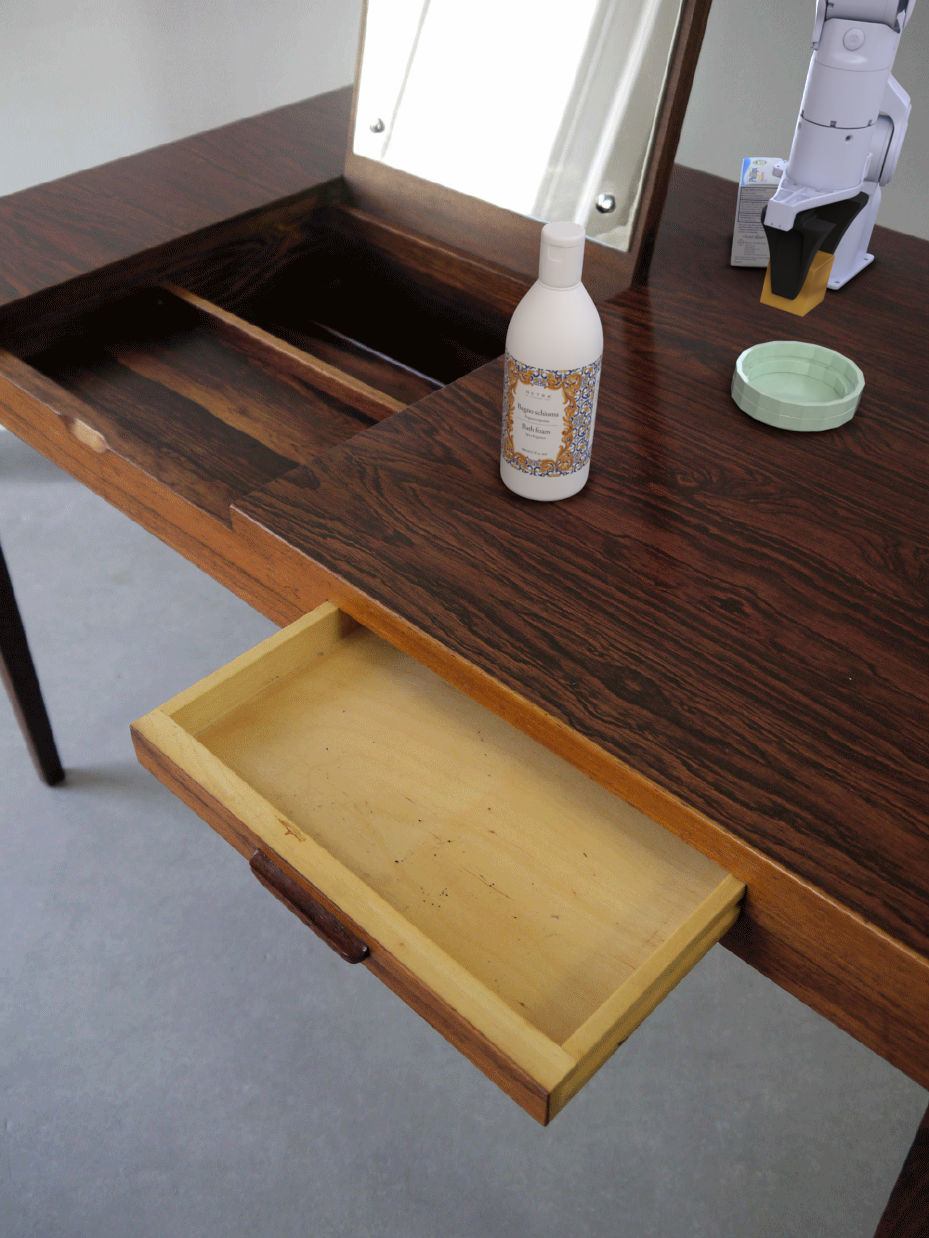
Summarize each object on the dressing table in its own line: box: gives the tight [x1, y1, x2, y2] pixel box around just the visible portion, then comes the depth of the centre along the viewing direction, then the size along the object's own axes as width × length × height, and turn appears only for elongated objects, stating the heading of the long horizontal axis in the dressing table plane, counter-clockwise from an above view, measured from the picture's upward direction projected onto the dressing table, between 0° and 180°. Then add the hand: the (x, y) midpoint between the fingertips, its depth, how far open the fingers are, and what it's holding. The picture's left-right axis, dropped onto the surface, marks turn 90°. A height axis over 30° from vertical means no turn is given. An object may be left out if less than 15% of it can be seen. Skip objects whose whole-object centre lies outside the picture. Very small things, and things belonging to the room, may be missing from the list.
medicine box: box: [730, 156, 786, 268], centre depth 110 cm, size 8×4×9 cm, turn 167°
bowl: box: [730, 340, 866, 432], centre depth 91 cm, size 11×11×3 cm
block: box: [759, 250, 835, 317], centre depth 89 cm, size 4×4×4 cm
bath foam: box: [499, 220, 604, 502], centre depth 76 cm, size 7×7×20 cm
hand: (796, 286), depth 89 cm, fingers closed on block, 4 cm apart
